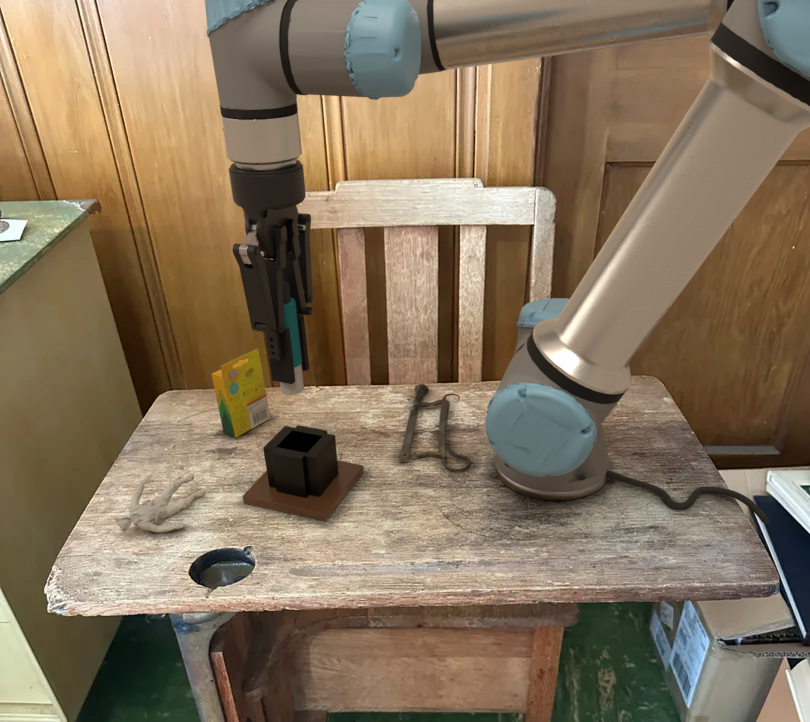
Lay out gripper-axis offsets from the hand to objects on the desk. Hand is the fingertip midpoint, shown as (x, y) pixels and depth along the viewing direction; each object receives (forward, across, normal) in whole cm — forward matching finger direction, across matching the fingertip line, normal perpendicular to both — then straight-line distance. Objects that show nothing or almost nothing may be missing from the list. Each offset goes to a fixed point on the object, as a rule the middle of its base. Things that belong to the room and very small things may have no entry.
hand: (291, 374), depth 91 cm
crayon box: (+17, -12, -16) cm, 26 cm away
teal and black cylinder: (+2, 0, 0) cm, 2 cm away
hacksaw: (+17, -21, +12) cm, 30 cm away
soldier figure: (+17, +12, -14) cm, 25 cm away
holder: (+17, 0, 0) cm, 17 cm away
